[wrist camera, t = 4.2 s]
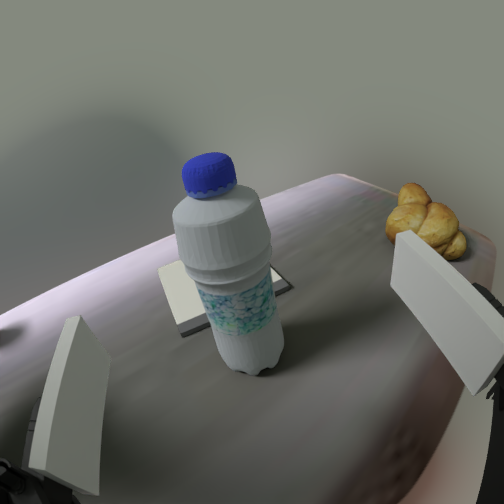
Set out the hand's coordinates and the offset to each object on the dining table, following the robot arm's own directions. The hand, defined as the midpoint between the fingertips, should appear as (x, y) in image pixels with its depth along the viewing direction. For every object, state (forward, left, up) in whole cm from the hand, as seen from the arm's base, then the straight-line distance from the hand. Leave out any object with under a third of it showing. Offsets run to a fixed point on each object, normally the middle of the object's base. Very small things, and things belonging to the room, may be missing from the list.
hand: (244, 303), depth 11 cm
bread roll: (+31, +11, -17) cm, 37 cm away
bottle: (+2, +10, -17) cm, 19 cm away
